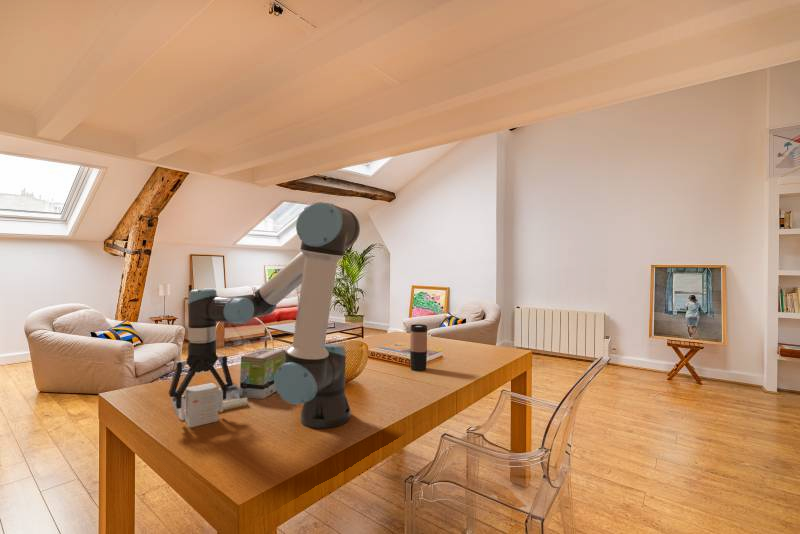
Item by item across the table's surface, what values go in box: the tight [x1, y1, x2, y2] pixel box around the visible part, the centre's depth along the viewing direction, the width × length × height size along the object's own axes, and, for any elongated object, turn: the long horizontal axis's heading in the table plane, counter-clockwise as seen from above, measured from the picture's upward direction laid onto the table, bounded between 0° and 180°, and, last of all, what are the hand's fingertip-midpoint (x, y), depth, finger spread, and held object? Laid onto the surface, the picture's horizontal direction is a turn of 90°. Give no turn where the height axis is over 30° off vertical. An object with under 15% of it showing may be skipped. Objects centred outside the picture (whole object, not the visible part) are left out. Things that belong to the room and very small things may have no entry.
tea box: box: [239, 347, 286, 400], centre depth 143 cm, size 15×10×15 cm, turn 168°
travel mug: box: [409, 323, 428, 372], centre depth 176 cm, size 8×8×20 cm
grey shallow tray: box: [171, 381, 248, 420], centre depth 129 cm, size 14×20×5 cm
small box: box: [184, 382, 219, 429], centre depth 116 cm, size 8×6×10 cm
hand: (201, 414), depth 116 cm, fingers open, 10 cm apart
